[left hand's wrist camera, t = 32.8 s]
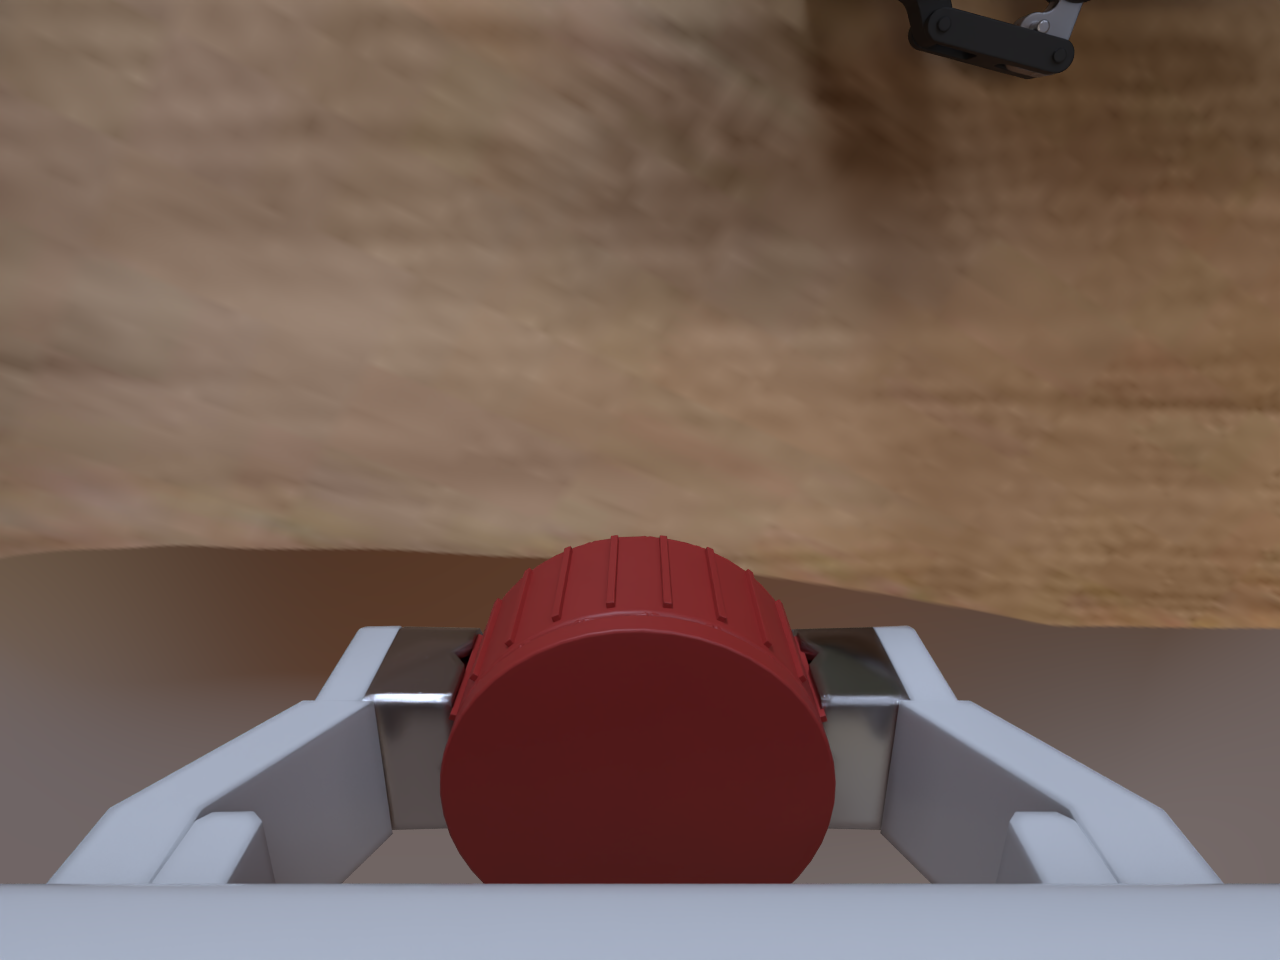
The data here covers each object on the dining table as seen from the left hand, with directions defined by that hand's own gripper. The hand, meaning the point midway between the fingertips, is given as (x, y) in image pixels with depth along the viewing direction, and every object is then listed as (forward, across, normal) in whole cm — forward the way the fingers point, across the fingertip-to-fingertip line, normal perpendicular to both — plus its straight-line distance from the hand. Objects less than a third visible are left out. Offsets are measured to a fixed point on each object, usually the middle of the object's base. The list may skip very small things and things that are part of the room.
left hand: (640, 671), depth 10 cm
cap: (-2, 0, 0) cm, 2 cm away
